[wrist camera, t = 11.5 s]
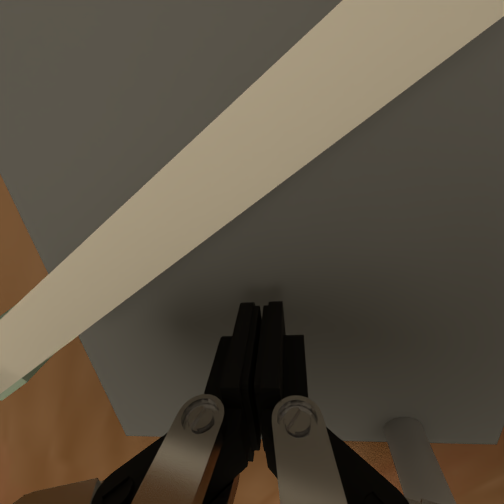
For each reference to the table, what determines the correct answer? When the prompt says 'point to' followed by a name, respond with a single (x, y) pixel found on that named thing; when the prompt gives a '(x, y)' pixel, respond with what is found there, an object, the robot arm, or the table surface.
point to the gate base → (274, 217)
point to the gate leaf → (240, 161)
